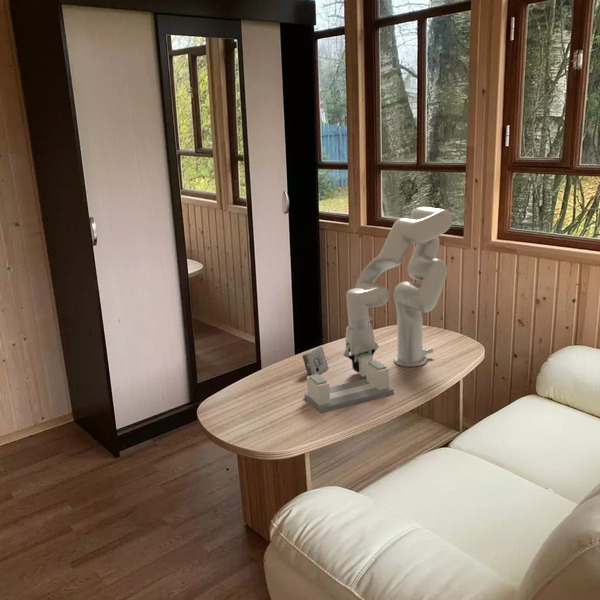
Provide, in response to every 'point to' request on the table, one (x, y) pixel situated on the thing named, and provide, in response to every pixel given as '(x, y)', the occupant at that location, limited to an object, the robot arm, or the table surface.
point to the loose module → (363, 362)
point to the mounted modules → (374, 375)
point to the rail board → (350, 394)
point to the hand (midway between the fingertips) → (362, 368)
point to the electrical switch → (315, 361)
